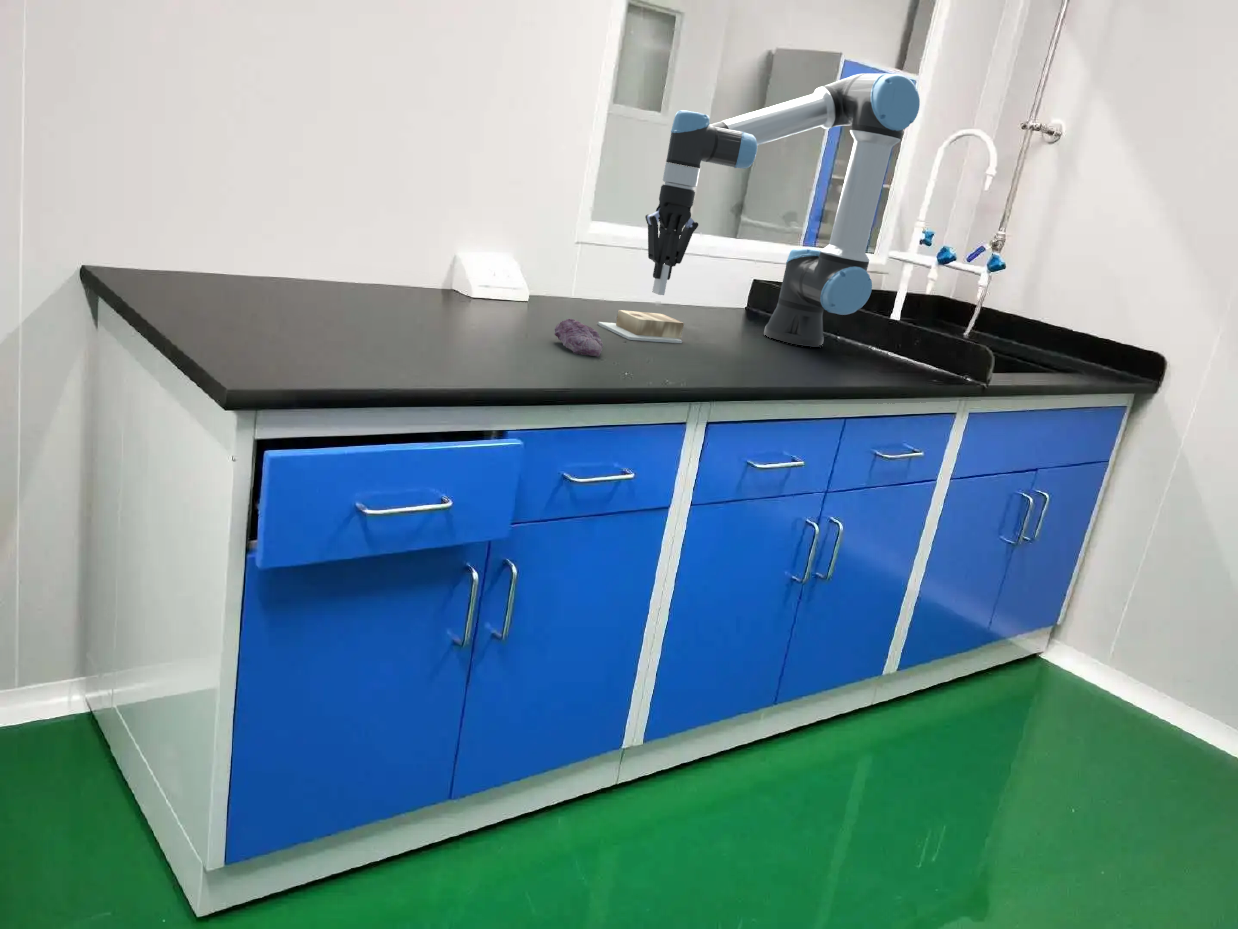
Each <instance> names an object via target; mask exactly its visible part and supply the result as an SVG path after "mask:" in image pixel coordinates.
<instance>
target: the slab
mask: <svg viewBox="0 0 1238 929" xmlns="http://www.w3.org/2000/svg"><path fill="white" fill-rule="evenodd" d="M615 323H616V325H617V326H619V327H621V328H623V329H625V330H627V331H629V332H631V333H633V334H635V335H644V336H657V337H670V338H677V339H681V338H682V334H683V329H684V325H685V323H684V322H683V321H681V320H678V319H675V318H673V317H671V316H668V315H666V314H664V313H657V312H647V311H646V312H644V311H635V310H634V311H633V310H625V309H623V310H622V309H618V313H617V317H616V322H615Z"/></svg>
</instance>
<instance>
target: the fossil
mask: <svg viewBox="0 0 1238 929" xmlns="http://www.w3.org/2000/svg"><path fill="white" fill-rule="evenodd" d="M554 336H555V337H556V338H557V339H558V340H559V341H561V342H562V345H563V347H565V348H566V349H569V350H570V351H572V353H573V354H576V355H583V356H592V357H597V358H598V357H600V355H601V353H602V351H603V347H604V343H603V341H602V340H601V337H600V334H599V332H598V331H597V330H596V329H594V328H593V327H589V326H588V325H586V324H584V323H583V322H581V321H579V320H575V319H574V318H566V319H565V320H562V321H560V322H559V323H558V324H556V326H555V328H554Z"/></svg>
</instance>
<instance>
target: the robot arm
mask: <svg viewBox="0 0 1238 929" xmlns="http://www.w3.org/2000/svg"><path fill="white" fill-rule="evenodd" d="M920 103H921V102H920V94H919V91H918V89H917V87H916V85H915V83H914V82H913V80H911V79H910V78H908V77H906V76H905V75H902V74H897V73H892V72H891V73H890V72H885V73H884V72H883V73H867V72H865V73H864V72H863V73H857V74H853V75H851V76H849V77H846V78H845V77H844V78H842V79H839V80H837V81H833V82H832V83H829V84H825V85H822V86H819V87H817V88H816V89H814V92H813V93H811V94H808V95H804V96H801V97H798V98H795V99H790V100H788V101H785V102H781V103H778V104H775V105H771V106H769V107H764V108H761V109H758V110H755V111H751V112H747V113H744V114H741V115H737V116H735V117H732V118H728V119H724V120H721V121H719V122H713V123H712V124H711V123H710V122H711V120H710V116H709V115H708V114H706V113H701V112H697V111H691V110H684V109H681V110H678V111H677V112H676V113H675V116H674V119H673V122H672V127H671V130H670V137H669V143H668V144H669V145H668V150H667V156H666V160H665V165H664V170H663V176H662V177H663V178H662V182H664V183H663V184H661V186H660V192H659V197H658V200H659V201H658V202H659V203H658V206H657V207H656V209H655V212H653V213H651V214H649V213H648V214H646V215H645V222H646V224H647V254H648V255H647V257H648V259H649V260H651V261H652V262H654V266H653V272H652V277H653V278H654V282H653V286H652V293H653V294H656V295H659V296H665V292H666V287H667V284H668V281H669V280H670V279H671V275H672V271H673V267H674V268H675V267H676V266H677V264H678V265H680V264H681V263H682V261H683V259H684V256H685V253H686V251H687V248H688V247H689V244H690V241H691V239H692V237H693V235H694V233H695V231H696V229H697V228H698V227H699V223H698V222H697V221H695V220H694V219H693V218H692V212H691V208H692V207H693V205H694V201H695V200H694V199H695V196H696V191H695V190H694V188H696V187H697V186H698V181H699V176H700V170H701V165H702V162H705V163H710V164H716V165H719V166H726V167H729V168H731V167H732V168H734V169H737V168H738V169H748V168H750V167H751V166H752V165H753V163H754V162H755V160H756V157H757V153H758V146H761V145H763V144H767V143H769V142H773V141H776V140H780V139H784V138H786V137H789V136H793V135H796V134H799V133H803V132H806V131H810V130H813V129H816V128H819V127H821V128H823V129H824V130H828V129H832V128H834V127H835V128H836V127H843V126H850V129H849V132H850V135H851V137H852V138H853V145H852V149H851V154H850V158H849V162H848V165H847V169H846V174H845V177H844V181H843V182H844V183H843V185H842V189H841V194H840V198H839V203H838V206H837V210H836V213H835V218H834V222H833V226H832V230H831V235H830V238H829V243H828V245H826V246H825V247H823V248H822V249H820V250H818V249H809V248H798V247H796V248H793V249H791V250H790V251H789V253H788V256H787V260H786V262H785V269H784V274H783V279H782V282H781V287H780V291H779V296H778V302H777V304H776V308H775V309H774V311H773V313H772V315H771V316H770V318H769V320H768V322H767V323H766V325H765V327H764V331H763V335H764V336H765V335H766V336H767V337H766V336H765V337H766V338H768V337H769V338H768V339H771V338H774V339H778V340H781V341H785V342H789V343H793V344H803V345H812V346H819V345H822V344H824V340H825V338H824V337H825V335H824V321H823V317H824V316H823V315H824V310H825V311H827V312H828V313H831V314H837V315H842V316H843V315H844V316H846V315H850V314H854V313H856V312H857V311H859V310H860V309H862V308H863V306H864V305H866V303H867V302H868V300H869V298H870V296H871V293H872V290H873V283H872V282H873V281H872V279H871V276H870V274H869V273H868V268H869V263H870V259H869V257H868V255H867V254H866V251H867V250H866V249H867V246H868V241H869V238H870V233H871V231H872V230H871V229H872V226H873V221H874V218H875V214H876V211H877V207H878V203H879V199H880V196H881V195H880V194H881V191H882V187H883V183H884V179H885V174H886V171H887V168H888V164H889V161H890V155H891V152H892V149H893V147H894V146H895V145H897V144H898V143H900V142H901V141H902V137H903V133H904V130H905V129H907V128H908V127H910V125H911V124H913V123H914V122H915V120H916V118H917V117H918V113H919V111H920ZM822 346H823V345H822Z"/></svg>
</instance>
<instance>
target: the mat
mask: <svg viewBox="0 0 1238 929" xmlns="http://www.w3.org/2000/svg"><path fill="white" fill-rule="evenodd" d="M597 326H599V327H602V328H604V329H606V330H608V331H610V332H612V333H614V334H616V335H618V336H620V337H623V338H624V339H627V340H628V341H642V342H654V343H656V342H657V343H668V344H669V343H672V344H682V343H683V340H682V339H681V338H670V337H657V336H644V335H635V334H633V333H631V332H629V331H627V330H625V329H623V328H621V327H619V326H617V325H616V322H605V321H597Z"/></svg>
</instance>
